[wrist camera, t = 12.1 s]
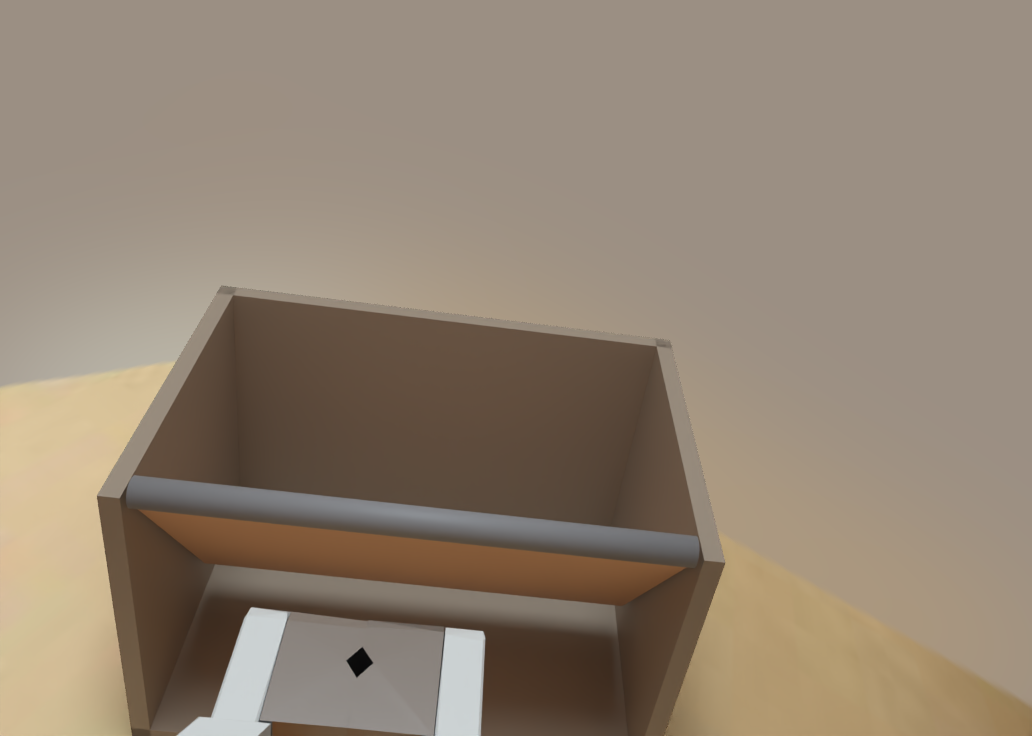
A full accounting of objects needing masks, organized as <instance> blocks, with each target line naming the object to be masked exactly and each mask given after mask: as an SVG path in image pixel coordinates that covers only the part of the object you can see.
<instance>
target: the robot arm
mask: <svg viewBox="0 0 1032 736" xmlns="http://www.w3.org/2000/svg"><path fill="white" fill-rule="evenodd" d="M484 655H485V635H484V632H483V631H476V630H466V629H456V628H445V630H444V627H442V626H430V625H419V624H407V623H396V622H385V621H373V620H368V621H362V620H354V619H346V618H338V617H330V616H322V615H314V614H306V613H299V612H288V611H279V610H271V609H262V608H253V607H251V608H250V610H249V611H248V613H247V615H246V616H245V618H244V620H243V623H242V626H241V629H240V632H239V635H238V638H237V641H236V644H235V647H234V650H233V653H232V656H231V659H230V662H229V665H228V668H227V671H226V674H225V677H224V680H223V683H222V686H221V689H220V692H219V695H218V698H217V701H216V704H215V707H214V710H213V713H212V716H211V717H198V718H197V719H195V720H194V721H193V722H192V723H191V724H190V725H188V726H187V727H186V728H185V729H184V730H182V731H181V732H180V733H179V734H178V735H177V736H481V718H482V697H483V676H484Z"/></svg>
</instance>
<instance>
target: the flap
mask: <svg viewBox="0 0 1032 736" xmlns="http://www.w3.org/2000/svg"><path fill="white" fill-rule="evenodd" d="M126 505H127V507H128V508H129V509H138V510H139V511H141V512H142V513H143V514H144V515H146V516H147V517H148V518H149V519H150V520H152V521H153V522H154V523H155V524H157V525H158V526H159V527H160V528H162V529H163V530H164V531H165V532H167V533H168V534H169V535H170V536H172V537H173V538H174V539H175V540H177V541H178V542H179V543H180V544H182V545H183V546H184V547H185V548H186V549H188V550H189V551H190V552H191V553H193V554H194V555H195V556H196V557H198V558H199V559H200V560H201V561H203V562H204V563H206V564H216V565H226V566H236V567H245V568H255V569H265V570H275V571H284V572H294V573H304V574H313V575H323V576H333V577H343V578H352V579H362V580H372V581H382V582H391V583H401V584H411V585H421V586H430V587H440V588H450V589H460V590H469V591H479V592H489V593H499V594H508V595H518V596H528V597H537V598H547V599H557V600H567V601H576V602H586V603H596V604H606V605H615V606H623V605H625V604H627V603H628V602H630V601H632V600H633V599H635V598H637V597H638V596H640V595H642V594H643V593H645V592H647V591H648V590H650V589H652V588H653V587H655V586H657V585H658V584H660V583H662V582H663V581H665V580H667V579H668V578H670V577H672V576H673V575H675V574H677V573H678V572H680V571H682V570H683V569H685V568H695V567H696V566H697V563H698V559H699V540H698V537H697V536H692V535H683V534H674V533H664V532H655V531H646V530H637V529H627V528H618V527H609V526H600V525H590V524H581V523H572V522H563V521H553V520H544V519H535V518H526V517H516V516H507V515H498V514H489V513H479V512H470V511H461V510H452V509H442V508H433V507H424V506H415V505H405V504H396V503H387V502H378V501H368V500H359V499H350V498H341V497H331V496H322V495H313V494H304V493H294V492H285V491H276V490H267V489H257V488H248V487H239V486H230V485H220V484H211V483H202V482H193V481H184V480H174V479H165V478H156V477H147V476H137V475H134V476H133V477H132V478H131V479H130V482H129V484H128V488H127V493H126Z"/></svg>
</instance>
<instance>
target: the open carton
mask: <svg viewBox="0 0 1032 736" xmlns="http://www.w3.org/2000/svg"><path fill="white" fill-rule="evenodd" d="M134 475H137V476H147V477H156V478H165V479H174V480H184V481H193V482H202V483H211V484H220V485H230V486H239V487H248V488H257V489H267V490H276V491H285V492H294V493H304V494H313V495H322V496H331V497H341V498H350V499H359V500H368V501H378V502H387V503H396V504H405V505H415V506H424V507H433V508H442V509H452V510H461V511H470V512H479V513H489V514H498V515H507V516H516V517H526V518H535V519H544V520H553V521H563V522H572V523H581V524H590V525H600V526H609V527H618V528H627V529H637V530H646V531H655V532H664V533H674V534H683V535H692V536H697V537H698V540H699V559H698V563H697V566H696V567H695V568H685V569H683V570H682V571H680V572H678V573H677V574H675V575H673V576H672V577H670V578H668V579H667V580H665V581H663V582H662V583H660V584H658V585H657V586H655V587H653V588H652V589H650V590H648V591H647V592H645V593H643V594H642V595H640V596H638V597H637V598H635V599H633V600H632V601H630V602H628V603H627V604H625V605H623V606H615V605H606V604H596V603H586V602H576V601H567V600H557V599H547V598H537V597H528V596H518V595H508V594H499V593H489V592H479V591H469V590H460V589H450V588H440V587H430V586H421V585H411V584H401V583H391V582H382V581H372V580H362V579H352V578H343V577H333V576H323V575H313V574H304V573H294V572H284V571H275V570H265V569H255V568H245V567H236V566H226V565H216V564H206V563H204V562H203V561H201V560H200V559H199V558H198V557H196V556H195V555H194V554H193V553H191V552H190V551H189V550H188V549H186V548H185V547H184V546H183V545H182V544H180V543H179V542H178V541H177V540H175V539H174V538H173V537H172V536H170V535H169V534H168V533H167V532H165V531H164V530H163V529H162V528H160V527H159V526H158V525H157V524H155V523H154V522H153V521H152V520H150V519H149V518H148V517H147V516H146V515H144V514H143V513H142V512H141V511H139V510H138V509H129V508H128V507H127V505H126V493H127V488H128V484H129V482H130V479H131V478H132V477H133V476H134ZM97 500H98V507H99V513H100V520H101V527H102V534H103V540H104V547H105V554H106V561H107V567H108V574H109V581H110V588H111V594H112V601H113V608H114V615H115V621H116V628H117V635H118V642H119V648H120V655H121V662H122V669H123V676H124V682H125V689H126V696H127V703H128V709H129V716H130V723H131V730H132V736H177V735H178V734H179V733H180V732H181V731H182V730H184V729H185V728H186V727H187V726H188V725H190V724H191V723H192V722H193V721H194V720H195V719H197V718H198V717H211V716H212V713H213V710H214V707H215V704H216V701H217V698H218V695H219V692H220V689H221V686H222V683H223V680H224V677H225V674H226V671H227V668H228V665H229V662H230V659H231V656H232V653H233V650H234V647H235V644H236V641H237V638H238V635H239V632H240V629H241V626H242V623H243V620H244V618H245V616H246V615H247V613H248V611H249V610H250V608H251V607H253V608H262V609H271V610H279V611H288V612H299V613H306V614H314V615H322V616H330V617H338V618H346V619H354V620H362V621H368V620H373V621H385V622H396V623H407V624H419V625H430V626H442V627H444V630H445V628H456V629H466V630H476V631H483V632H484V635H485V655H484V676H483V697H482V718H481V736H664V734H665V731H666V728H667V725H668V722H669V719H670V717H671V714H672V711H673V708H674V705H675V703H676V700H677V697H678V694H679V691H680V689H681V686H682V683H683V680H684V677H685V675H686V672H687V669H688V666H689V663H690V661H691V658H692V655H693V652H694V649H695V646H696V644H697V641H698V638H699V635H700V632H701V630H702V627H703V624H704V621H705V618H706V616H707V613H708V610H709V607H710V604H711V602H712V599H713V596H714V593H715V590H716V588H717V585H718V582H719V579H720V576H721V573H722V571H723V568H724V565H725V559H724V555H723V551H722V547H721V543H720V539H719V535H718V531H717V527H716V523H715V519H714V515H713V511H712V507H711V503H710V499H709V495H708V491H707V487H706V483H705V479H704V475H703V471H702V467H701V463H700V459H699V455H698V451H697V447H696V443H695V439H694V435H693V431H692V427H691V423H690V419H689V415H688V411H687V406H686V402H685V398H684V394H683V390H682V386H681V382H680V379H679V374H678V371H677V366H676V362H675V358H674V354H673V350H672V346H671V342H670V340H664V339H656V338H647V337H640V336H630V335H623V334H614V333H606V332H598V331H589V330H581V329H573V328H566V327H557V326H548V325H540V324H533V323H524V322H516V321H508V320H500V319H492V318H483V317H475V316H467V315H459V314H449V313H442V312H434V311H426V310H417V309H409V308H401V307H393V306H384V305H376V304H368V303H360V302H351V301H343V300H335V299H327V298H319V297H310V296H302V295H294V294H286V293H278V292H269V291H261V290H253V289H245V288H236V287H228V286H221V287H220V289H219V290H218V292H217V294H216V296H215V297H214V299H213V300H212V302H211V304H210V306H209V307H208V309H207V311H206V312H205V314H204V316H203V318H202V319H201V321H200V322H199V324H198V326H197V328H196V329H195V331H194V333H193V334H192V336H191V338H190V339H189V341H188V343H187V344H186V346H185V348H184V350H183V351H182V353H181V355H180V357H179V358H178V360H177V361H176V363H175V365H174V366H173V368H172V370H171V371H170V373H169V375H168V377H167V378H166V380H165V382H164V383H163V385H162V387H161V388H160V390H159V392H158V393H157V395H156V397H155V398H154V400H153V402H152V404H151V405H150V407H149V409H148V410H147V412H146V414H145V415H144V417H143V419H142V420H141V422H140V424H139V426H138V427H137V429H136V431H135V432H134V434H133V436H132V437H131V439H130V441H129V442H128V444H127V446H126V447H125V449H124V451H123V453H122V454H121V456H120V458H119V459H118V461H117V463H116V464H115V466H114V468H113V469H112V471H111V473H110V475H109V476H108V478H107V480H106V481H105V483H104V485H103V486H102V488H101V490H100V491H99V493H98V495H97Z"/></svg>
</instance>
